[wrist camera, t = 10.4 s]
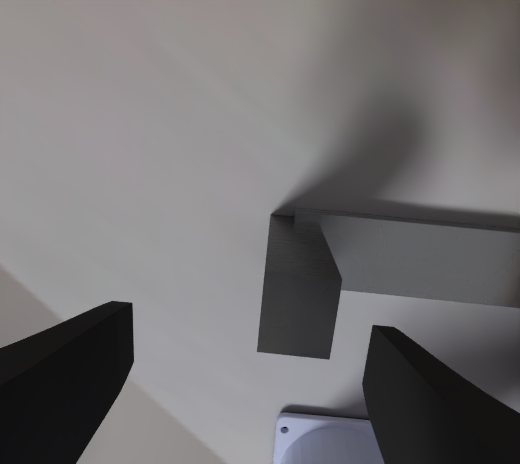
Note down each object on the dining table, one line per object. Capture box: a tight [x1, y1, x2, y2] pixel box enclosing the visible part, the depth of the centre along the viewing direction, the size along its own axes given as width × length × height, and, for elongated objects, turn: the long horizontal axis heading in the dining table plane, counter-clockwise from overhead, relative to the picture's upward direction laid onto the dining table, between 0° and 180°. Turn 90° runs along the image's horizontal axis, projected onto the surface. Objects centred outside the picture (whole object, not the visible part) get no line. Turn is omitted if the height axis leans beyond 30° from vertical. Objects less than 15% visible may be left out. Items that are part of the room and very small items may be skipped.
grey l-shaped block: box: [257, 208, 520, 359], centre depth 16 cm, size 4×18×8 cm, turn 85°
